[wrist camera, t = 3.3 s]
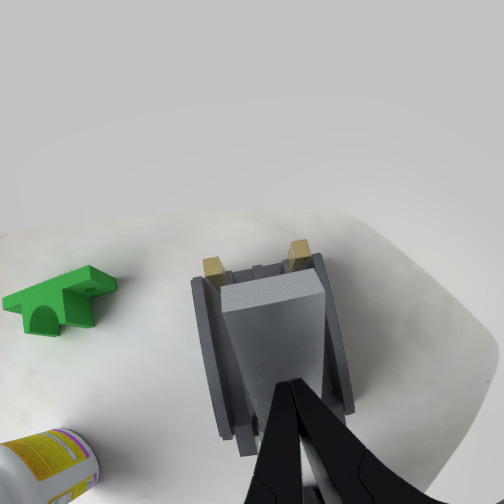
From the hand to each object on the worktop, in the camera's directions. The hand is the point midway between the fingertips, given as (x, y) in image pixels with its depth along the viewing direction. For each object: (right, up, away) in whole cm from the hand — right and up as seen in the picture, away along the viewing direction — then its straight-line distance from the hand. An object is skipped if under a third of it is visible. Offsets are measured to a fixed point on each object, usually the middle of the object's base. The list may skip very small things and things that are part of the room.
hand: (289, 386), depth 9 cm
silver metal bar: (0, -1, +4) cm, 4 cm away
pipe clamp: (-18, -1, +14) cm, 23 cm away
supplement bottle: (-18, -15, +10) cm, 26 cm away
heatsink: (0, -3, +13) cm, 13 cm away
